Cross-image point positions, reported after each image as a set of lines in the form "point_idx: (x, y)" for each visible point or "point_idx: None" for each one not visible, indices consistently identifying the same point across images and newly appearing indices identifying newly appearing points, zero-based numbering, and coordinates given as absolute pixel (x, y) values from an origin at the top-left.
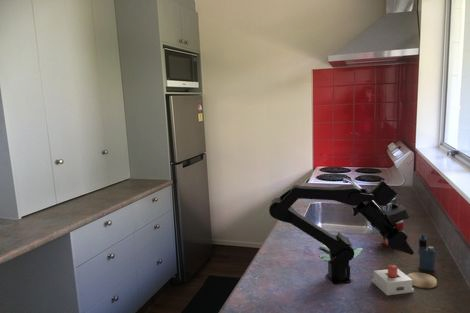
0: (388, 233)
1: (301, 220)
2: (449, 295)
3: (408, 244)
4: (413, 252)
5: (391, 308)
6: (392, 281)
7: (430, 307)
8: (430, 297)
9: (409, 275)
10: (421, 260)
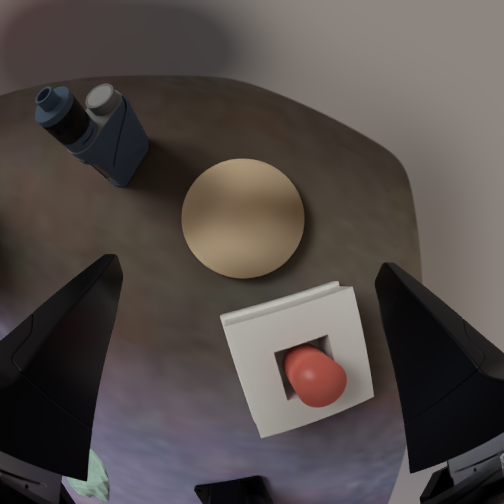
0: (74, 444)
1: None
2: (343, 163)
3: (476, 330)
4: (399, 269)
5: None
6: (365, 377)
7: (416, 257)
8: (364, 232)
9: (213, 258)
10: (115, 166)
